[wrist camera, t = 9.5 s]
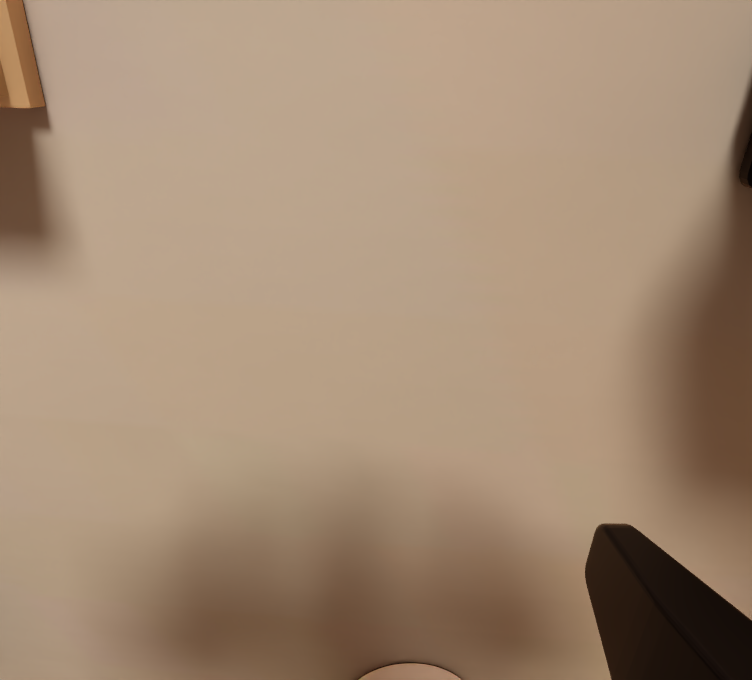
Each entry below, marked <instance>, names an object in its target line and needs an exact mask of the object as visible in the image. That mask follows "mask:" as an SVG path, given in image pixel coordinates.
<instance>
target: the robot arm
mask: <svg viewBox="0 0 752 680" xmlns="http://www.w3.org/2000/svg"><path fill="white" fill-rule="evenodd" d="M739 178H740V181H741V183H742V184H743V185H744V186H746V187H749V188H752V134H751V137H750V140H749V143H748V146H747V150H746V153H745V156H744V159H743V162H742V166H741V169H740V174H739ZM585 578H586V584H587V588H588V592H589V596H590V599H591V603H592V607H593V611H594V615H595V618H596V622H597V626H598V630H599V634H600V637H601V641H602V645H603V649H604V652H605V656H606V660H607V664H608V668H609V671H610V675H611V679H612V680H752V620H750V619H749V618H748V617H747V616H745V615H744V614H743V613H742V612H740V611H739V610H738V609H737V608H735V607H734V606H733V605H732V604H730V603H729V602H728V601H727V600H725V599H724V598H723V597H721V596H720V595H719V594H718V593H716V592H715V591H714V590H713V589H711V588H710V587H709V586H708V585H706V584H705V583H704V582H703V581H701V580H700V579H699V578H698V577H696V576H695V575H694V574H692V573H691V572H690V571H689V570H687V569H686V568H685V567H684V566H682V565H681V564H680V563H679V562H677V561H676V560H675V559H674V558H672V557H671V556H670V555H669V554H667V553H666V552H665V551H663V550H662V549H661V548H660V547H658V546H657V545H656V544H655V543H653V542H652V541H651V540H650V539H648V538H647V537H646V536H645V535H643V534H642V533H641V532H640V531H638V530H637V529H636V528H634V527H633V526H631V525H628V524H601V525H599V526H598V527H597V528H596V531H595V533H594V537H593V540H592V544H591V548H590V551H589V555H588V558H587V562H586V567H585Z"/></svg>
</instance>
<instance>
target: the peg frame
mask: <svg viewBox="0 0 752 680" xmlns="http://www.w3.org/2000/svg"><path fill="white" fill-rule="evenodd" d="M42 106H45V102H44V98H43V93H42V89H41V84H40V79H39V75H38V70H37V66H36V61H35V57H34V52H33V48H32V43H31V38H30V34H29V29H28V25H27V20H26V16H25V11H24V7H23V2H22V0H0V107H10V108H35V107H42Z"/></svg>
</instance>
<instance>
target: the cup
mask: <svg viewBox="0 0 752 680" xmlns="http://www.w3.org/2000/svg"><path fill="white" fill-rule="evenodd" d="M358 680H461V679H460V678H459V677H457V676H456V675H454V674H452V673H451V672H449V671H447V670H444V669H441V668H439V667H435V666H431V665H426V664H417V663H404V664H395V665H390V666H386V667H382V668H379V669H377V670H374V671H372V672H370V673H368V674H366V675H365V676H363V677H361V678H360V679H358Z"/></svg>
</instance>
